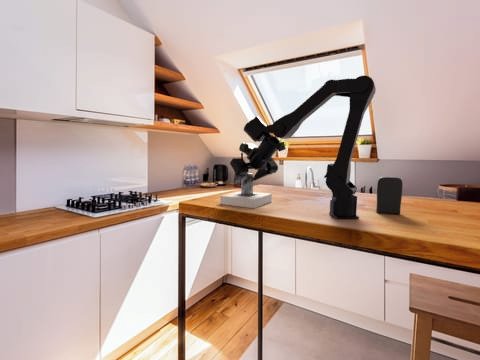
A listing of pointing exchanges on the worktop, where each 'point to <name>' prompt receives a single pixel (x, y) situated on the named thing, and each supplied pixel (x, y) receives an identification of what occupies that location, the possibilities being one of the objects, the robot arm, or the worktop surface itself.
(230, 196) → the hole block
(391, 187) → the battery
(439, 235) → the worktop surface
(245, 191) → the translucent grey tall cylinder
